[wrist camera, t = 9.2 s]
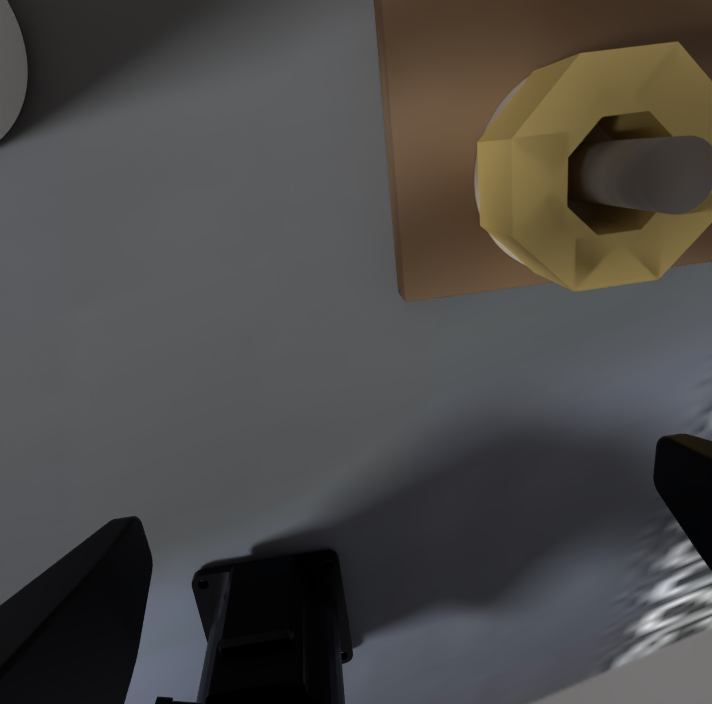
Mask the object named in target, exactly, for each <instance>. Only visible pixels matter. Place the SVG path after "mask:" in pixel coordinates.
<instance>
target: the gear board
mask: <svg viewBox="0 0 712 704" xmlns="http://www.w3.org/2000/svg"><path fill="white" fill-rule="evenodd" d="M374 7H375V19H376V31H377V43H378V55H379V67H380V78H381V90H382V102H383V114H384V126H385V138H386V150H387V162H388V174H389V186H390V198H391V209H392V221H393V233H394V245H395V257H396V269H397V281H398V292H399V294H400V295H401V296H402V298H403V299H404V300H405V302H410V301H417V300H425V299H432V298H440V297H448V296H455V295H463V294H470V293H478V292H485V291H493V290H500V289H508V288H515V287H523V286H530V285H538V284H545V283H553V281H551V280H549V279H547V278H545V277H543V276H541V275H538V274H536V273H534V272H533V271H532V270H531V269H530V268H528V267H527V266H526V265H525V264H524V263H523V262H521V261H520V260H519V259H518V258H517V257H516V256H515V255H513V254H512V253H511V252H510V251H509V250H508V249H507V248H505V247H504V246H503V245H502V244H501V243H500V242H498V241H497V240H496V239H495V238H494V237H493V236H492V235H490V234H489V233H488V232H487V231H486V230H485V229H484V228H482V227H481V226H480V210H479V182H478V154H477V142H478V141H479V139H480V138H481V137H482V136H483V134H484V133H485V132H486V131H487V129H488V128H489V127H490V125H491V124H492V123H493V122H494V120H495V119H496V118H497V117H498V115H499V114H500V113H501V111H502V110H503V109H504V108H505V106H506V105H507V104H508V103H509V101H510V100H511V99H512V98H513V96H514V95H515V94H516V92H517V91H518V90H519V89H520V87H521V86H522V85H523V84H524V82H525V81H526V80H527V79H528V77H529V76H530V75H531V73H532V72H533V71H535V70H537V69H540V68H543V67H545V66H548V65H550V64H553V63H556V62H558V61H561V60H563V59H566V58H569V57H571V56H574V55H576V54H579V53H585V52H594V51H602V50H611V49H619V48H627V47H636V46H644V45H652V44H661V43H669V42H677V41H678V42H679V43H680V44H681V45H682V47H683V48H684V49H685V50H686V51H687V53H688V54H689V55H690V56H691V57H692V58H693V60H694V61H695V62H696V63H697V64H698V66H699V67H700V68H701V69H702V70H703V71H704V73H705V74H706V75H707V76H708V77H709V78H710V80H711V81H712V0H374ZM711 190H712V146H711V145H710V144H709V143H708V142H707V141H706V140H704V139H703V138H700V137H697V136H674V137H658V138H642V139H626V140H613V139H612V138H611V137H610V136H609V135H608V134H607V133H606V132H605V131H604V130H603V129H602V128H601V127H600V126H599V125H598V124H596V125H595V126H594V127H593V128H592V130H591V131H590V132H589V133H588V134H587V136H586V137H585V138H584V139H583V140H582V142H581V143H580V144H579V145H578V146H577V148H576V149H575V150H574V151H573V152H572V154H571V155H570V156H569V157H568V189H567V207H568V208H569V209H570V210H571V211H572V212H573V213H574V214H575V215H576V216H578V217H579V218H580V219H581V220H585V219H590V218H591V216H592V215H593V214H594V213H595V212H596V211H597V210H598V208H599V207H600V206H601V205H602V204H604V205H610V206H617V207H624V208H631V209H638V210H644V211H651V212H658V213H665V214H673V215H674V214H682V213H685V212H688V211H690V210H692V209H694V208H696V207H697V206H698V205H700V204H701V203H702V202H703V201H704V200H705V199H706V197H707V196H708V195H709V193H710V192H711ZM711 261H712V223H711V224H710V225H709V226H708V227H707V228H706V229H705V230H704V231H703V233H702V234H701V235H700V236H699V237H698V238H697V239H696V240H695V241H694V242H693V243H692V244H691V245H690V246H689V248H688V249H687V250H686V251H685V252H684V253H683V254H682V255H681V256H680V257H679V258H678V259H677V260H676V261H675V263H674V264H673V265H672V266H671V267H673V266H681V265H688V264H696V263H704V262H711Z"/></svg>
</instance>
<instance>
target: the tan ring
mask: <svg viewBox="0 0 712 704" xmlns="http://www.w3.org/2000/svg"><path fill="white" fill-rule="evenodd" d="M596 124H598V125H599V126H600V127H601V128H602V129H603V130H604V131H605V132H606V133H607V134H608V135H609V136H610V137H611V138H612V139H613V140H626V139H642V138H658V137H674V136H697V137H700V138H703V139H704V140H706V141H707V142H708V143H709V144H710V145H711V146H712V81H711V80H710V78H709V77H708V76H707V75H706V74H705V73H704V71H703V70H702V69H701V68H700V67H699V66H698V64H697V63H696V62H695V61H694V60H693V58H692V57H691V56H690V55H689V54H688V53H687V51H686V50H685V49H684V48H683V47H682V45H681V44H680V43H679V42H678V41H677V42H669V43H661V44H652V45H644V46H636V47H627V48H619V49H611V50H602V51H594V52H585V53H579V54H576V55H574V56H571V57H569V58H566V59H563V60H561V61H558V62H556V63H553V64H550V65H548V66H545V67H543V68H540V69H537V70H535V71H533V72H532V73H531V75H530V76H529V77H528V79H527V80H526V81H525V82H524V84H523V85H522V86H521V87H520V89H519V90H518V91H517V92H516V94H515V95H514V96H513V98H512V99H511V100H510V101H509V103H508V104H507V105H506V106H505V108H504V109H503V110H502V111H501V113H500V114H499V115H498V117H497V118H496V119H495V120H494V122H493V123H492V124H491V125H490V127H489V128H488V129H487V131H486V132H485V133H484V134H483V136H482V137H481V138H480V139H479V141H478V142H477V154H478V182H479V210H480V226H481V227H482V228H484V229H485V230H486V231H487V232H488V233H489V234H490V235H492V236H493V237H494V238H495V239H496V240H497V241H498V242H500V243H501V244H502V245H503V246H504V247H505V248H507V249H508V250H509V251H510V252H511V253H512V254H513V255H515V256H516V257H517V258H518V259H519V260H520V261H521V262H523V263H524V264H525V265H526V266H527V267H528V268H530V269H531V270H532V271H533V272H534V273H536V274H538V275H541V276H543V277H545V278H547V279H549V280H551V281H553V282H555V283H557V284H559V285H561V286H563V287H565V288H567V289H570V290H572V291H574V292H575V291H582V290H589V289H597V288H604V287H611V286H618V285H625V284H632V283H639V282H646V281H653V280H659V279H660V278H661V276H662V275H663V274H664V273H665V272H666V271H667V270H668V269H669V268H670V267H671V266H672V265H673V264H674V263H675V261H676V260H677V259H678V258H679V257H680V256H681V255H682V254H683V253H684V252H685V251H686V250H687V249H688V248H689V246H690V245H691V244H692V243H693V242H694V241H695V240H696V239H697V238H698V237H699V236H700V235H701V234H702V233H703V231H704V230H705V229H706V228H707V227H708V226H709V225H710V224H711V223H712V190H711V192H710V193H709V195H708V196H707V197H706V199H705V200H704V201H703V202H702V203H701V204H700V205H698V206H697V207H696V208H694V209H692V210H690V211H688V212H685V213H682V214H674V215H673V214H665V213H658V212H651V211H644V210H638V209H631V208H624V207H617V206H610V205H604V204H602V205H601V206H600V207H599V208H598V210H597V211H596V212H595V213H594V214H593V215H592V216H591V218H590V219H585V220H581V219H580V218H579V217H578V216H576V215H575V214H574V213H573V212H572V211H571V210H570V209H569V208H568V207H567V189H568V157H569V156H570V155H571V154H572V152H573V151H574V150H575V149H576V148H577V146H578V145H579V144H580V143H581V142H582V140H583V139H584V138H585V137H586V136H587V134H588V133H589V132H590V131H591V130H592V128H593V127H594V126H595V125H596Z"/></svg>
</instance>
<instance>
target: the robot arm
mask: <svg viewBox="0 0 712 704" xmlns="http://www.w3.org/2000/svg"><path fill="white" fill-rule="evenodd" d="M653 479H654V484H655V487H656V490H657V491H658V493H659V495H660V496H661V498H662V499H663V501H664V502H665V504H666V505H667V507H668V508H669V510H670V511H671V513H672V514H673V516H674V517H675V519H676V520H677V522H678V523H679V524H680V526H681V527H682V529H683V530H684V532H685V533H686V535H687V536H688V538H689V539H690V541H691V542H692V544H693V545H694V547H695V548H696V550H697V551H698V553H699V554H700V556H701V557H702V558H703V560H704V561H705V563H706V564H707V565H708V567H709V568H710V569H711V571H712V441H709V440H706V439H702V438H699V437H695V436H692V435H688V434H675V435H669V436H663V437H661V438H660V439H659V440H658V442H657V445H656V454H655V464H654V474H653ZM327 560H330V561H332V562H330V563H324V561H327ZM152 567H153V562H152V555H151V551H150V548H149V545H148V541H147V538H146V535H145V532H144V528H143V525H142V522H141V521H140V519H139V518H138V517H136V516H131V517H125V518H118V519H113V520H111V521H109V522H108V523H107V524H106V525H104V526H103V527H102V528H100V529H99V530H98V531H96V532H95V533H94V534H93V535H91V536H90V537H89V538H87V539H86V540H85V541H83V542H82V543H81V544H80V545H78V546H77V547H76V548H74V549H73V550H72V551H70V552H69V553H68V554H67V555H65V556H64V557H63V558H61V559H60V560H59V561H57V562H56V563H55V564H54V565H52V566H51V567H50V568H48V569H47V570H46V571H44V572H43V573H42V574H41V575H39V576H38V577H37V578H35V579H34V580H33V581H31V582H30V583H29V584H28V585H26V586H25V587H24V588H22V589H21V590H20V591H18V592H17V593H16V594H15V595H13V596H12V597H11V598H9V599H8V600H7V601H5V602H4V603H3V604H2V605H0V704H124V702H125V699H126V695H127V692H128V688H129V685H130V681H131V678H132V674H133V670H134V667H135V663H136V659H137V654H138V649H139V644H140V638H141V632H142V627H143V621H144V615H145V609H146V603H147V598H148V592H149V586H150V580H151V575H152ZM201 580H206V581H208V582H201ZM192 589H193V592H194V596H195V600H196V603H197V607H198V610H199V614H200V618H201V621H202V625H203V628H204V632H205V636H206V639H207V643H208V645H207V650H206V655H205V660H204V665H203V670H202V676H201V681H200V686H199V691H198V696H197V701H196V703H195V702H181V701H173V698H170V697H157V699H156V703H155V704H345V696H344V684H343V672H342V664H344V663H347V662H349V661H350V660H351V659H352V657H353V651H352V643H351V636H350V630H349V623H348V616H347V610H346V603H345V597H344V590H343V583H342V577H341V570H340V563H339V557H338V554H337V553H336V552H335V551H333V550H321V551H315V552H308V553H302V554H296V555H289V556H283V557H277V558H270V559H264V560H257V561H251V562H245V563H238V564H232V565H225V566H219V567H213V568H206V569H201V570H198V571H197V572H196V573H195V574H194V576H193V580H192ZM341 652H343V653H341Z"/></svg>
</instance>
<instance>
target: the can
mask: <svg viewBox="0 0 712 704" xmlns="http://www.w3.org/2000/svg"><path fill="white" fill-rule="evenodd" d="M27 78H28V67H27V56H26V50H25V45H24V41H23V37H22V33H21V30H20V27H19V25H18V22H17V20H16V17H15V15H14V13H13V11H12V9H11V7H10V5H9V3H8V1H7V0H0V139H1V138H3V136H4V135H5V134H6V133H7V132H8V131H9V130H10V128H11V127H12V125H13V124H14V122H15V121H16V119H17V117H18V115H19V113H20V110H21V108H22V105H23V102H24V98H25V94H26V88H27Z"/></svg>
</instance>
